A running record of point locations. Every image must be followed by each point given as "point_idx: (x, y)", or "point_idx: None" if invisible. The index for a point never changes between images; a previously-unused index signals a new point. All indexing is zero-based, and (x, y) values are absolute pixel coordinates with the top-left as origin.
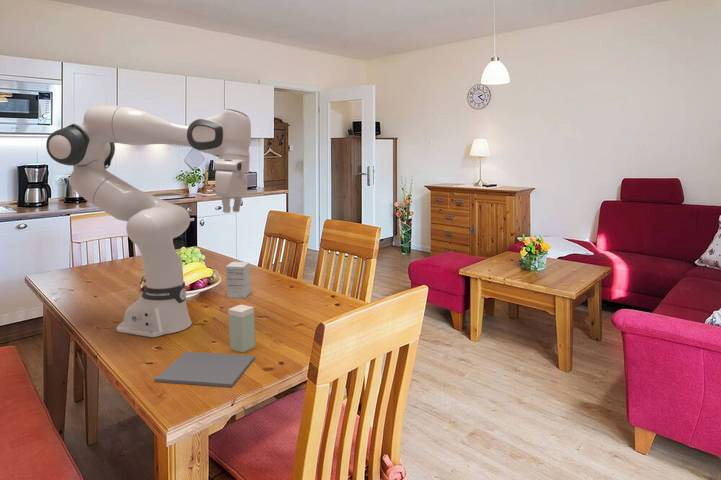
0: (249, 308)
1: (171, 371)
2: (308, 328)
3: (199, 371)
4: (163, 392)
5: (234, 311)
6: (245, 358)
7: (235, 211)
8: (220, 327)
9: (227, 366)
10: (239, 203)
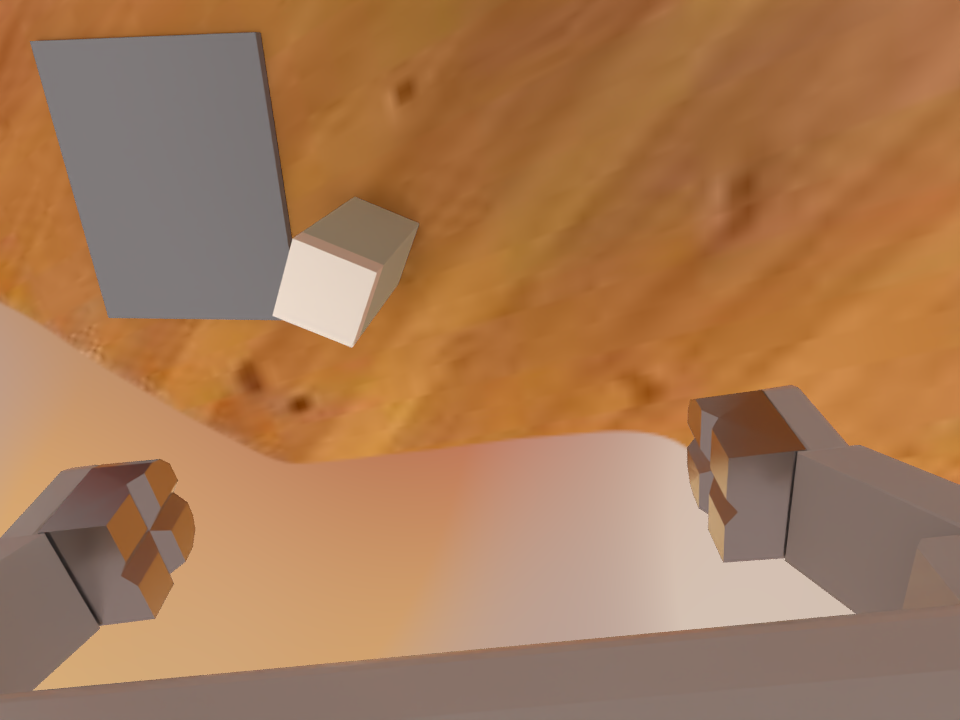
0: (331, 334)
1: (95, 75)
2: (603, 428)
3: (135, 180)
4: (3, 119)
5: (283, 276)
6: (271, 296)
7: (697, 439)
8: (574, 37)
9: (199, 259)
10: (859, 599)
